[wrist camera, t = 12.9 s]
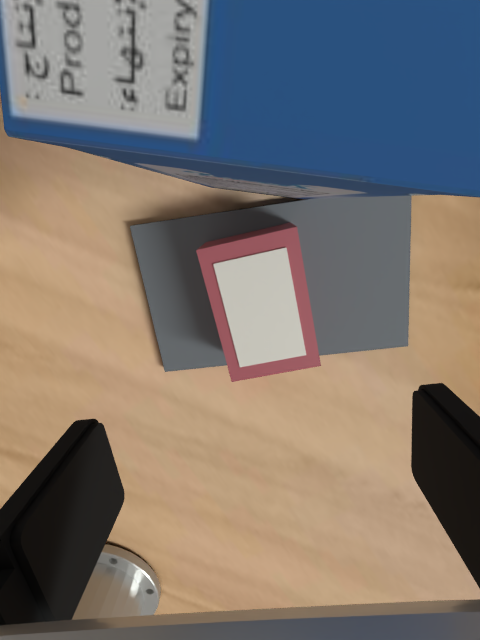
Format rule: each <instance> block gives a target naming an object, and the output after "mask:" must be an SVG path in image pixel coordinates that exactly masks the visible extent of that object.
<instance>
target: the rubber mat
mask: <svg viewBox="0 0 480 640" xmlns="http://www.w3.org/2000/svg"><path fill="white" fill-rule="evenodd" d="M290 222H291V223H292V224H294V225H295V226H297V230H298V235H299V241H300V247H301V253H302V259H303V265H304V270H305V276H306V282H307V288H308V294H309V299H310V305H311V311H312V317H313V323H314V329H315V334H316V340H317V346H318V352H319V355H328V354H338V353H347V352H357V351H366V350H376V349H385V348H395V347H404V346H408V325H409V281H410V236H411V195H409V196H378V197H347V198H315V199H307V200H300V201H293V202H287V203H280V204H273V205H266V206H260V207H253V208H246V209H240V210H233V211H226V212H219V213H213V214H206V215H199V216H193V217H186V218H179V219H172V220H166V221H159V222H152V223H146V224H139V225H132V226H130V229H131V233H132V237H133V241H134V245H135V249H136V254H137V258H138V262H139V266H140V270H141V274H142V279H143V283H144V287H145V291H146V295H147V299H148V303H149V308H150V312H151V316H152V320H153V324H154V328H155V333H156V337H157V341H158V345H159V349H160V353H161V357H162V362H163V366H164V370H165V372H167V371H177V370H186V369H196V368H205V367H215V366H224V365H227V362H226V359H225V355H224V351H223V348H222V344H221V340H220V337H219V333H218V329H217V326H216V322H215V318H214V314H213V311H212V307H211V303H210V300H209V296H208V292H207V289H206V285H205V281H204V278H203V274H202V270H201V266H200V263H199V259H198V255H197V252H196V250H197V249H198V248H199V247H201V246H202V245H203V244H204V243H206V242H209V241H214V240H218V239H222V238H226V237H231V236H235V235H239V234H243V233H248V232H252V231H256V230H260V229H265V228H269V227H273V226H277V225H282V224H286V223H290Z"/></svg>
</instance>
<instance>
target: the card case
mask: <svg viewBox="0 0 480 640" xmlns="http://www.w3.org/2000/svg"><path fill="white" fill-rule="evenodd" d="M196 252H197V255H198V259H199V263H200V266H201V270H202V274H203V278H204V281H205V285H206V289H207V292H208V296H209V300H210V303H211V307H212V311H213V314H214V318H215V322H216V326H217V329H218V333H219V337H220V340H221V344H222V348H223V351H224V355H225V359H226V362H227V366H228V370H229V374H230V377H231V381H232V382H234V381H239V380H245V379H250V378H256V377H262V376H267V375H273V374H278V373H284V372H289V371H295V370H300V369H306V368H311V367H317V366H321V364H320V358H319V352H318V346H317V340H316V334H315V329H314V323H313V317H312V311H311V305H310V299H309V294H308V288H307V282H306V276H305V270H304V265H303V259H302V253H301V247H300V241H299V235H298V230H297V226H295V225H294V224H292V223H291V222H290V223H286V224H282V225H277V226H273V227H269V228H265V229H260V230H256V231H252V232H248V233H243V234H239V235H235V236H231V237H226V238H222V239H218V240H214V241H209V242H206V243H204V244H203V245H202V246H201V247H199V248H198V249H197V250H196Z"/></svg>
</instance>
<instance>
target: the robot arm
mask: <svg viewBox="0 0 480 640" xmlns="http://www.w3.org/2000/svg"><path fill="white" fill-rule="evenodd" d="M411 467H412V473H413V476H414V479H415V481H416V482H417V484H418V486H419V487H420V489H421V491H422V492H423V494H424V496H425V497H426V499H427V501H428V502H429V504H430V506H431V507H432V509H433V511H434V513H435V514H436V516H437V518H438V519H439V521H440V523H441V524H442V526H443V528H444V529H445V531H446V533H447V534H448V536H449V538H450V539H451V541H452V543H453V544H454V546H455V548H456V549H457V551H458V553H459V554H460V556H461V558H462V559H463V561H464V563H465V564H466V566H467V568H468V570H469V571H470V573H471V575H472V576H473V578H474V580H475V581H476V583H477V585H478V586H479V588H480V417H479V416H478V415H477V414H476V413H475V412H474V411H473V410H472V409H471V408H469V407H468V406H467V405H466V404H465V403H464V402H463V401H462V400H461V399H460V398H459V397H457V396H456V395H455V394H454V393H453V392H452V391H451V390H450V389H449V388H448V387H447V386H445V385H444V384H443V383H437V384H428V385H421V386H419V389H418V391H414V392H413V403H412V460H411ZM123 502H124V489H123V486H122V483H121V479H120V476H119V473H118V470H117V467H116V463H115V460H114V457H113V454H112V450H111V447H110V444H109V441H108V438H107V434H106V431H105V428H104V425H103V424H102V423H99V422H98V421H97V420H96V419H87V420H78V421H75V422H74V423H73V424H72V425H71V426H70V427H69V428H68V430H67V431H66V432H65V433H64V434H63V436H62V437H61V438H60V439H59V440H58V441H57V443H56V444H55V445H54V446H53V447H52V449H51V450H50V451H49V452H48V453H47V455H46V456H45V457H44V458H43V459H42V460H41V462H40V463H39V464H38V465H37V466H36V468H35V469H34V470H33V471H32V472H31V473H30V475H29V476H28V477H27V478H26V479H25V481H24V482H23V483H22V484H21V485H20V486H19V488H18V489H17V490H16V491H15V492H14V494H13V495H12V496H11V497H10V498H9V500H8V501H7V502H6V503H5V504H4V505H3V507H2V508H1V509H0V640H480V600H444V601H417V602H396V603H375V604H353V605H332V606H311V607H291V608H272V609H253V610H234V611H216V612H197V613H179V614H161V615H153V614H154V613H155V611H156V609H157V607H158V603H159V599H160V595H161V587H160V583H159V580H158V578H157V576H156V574H155V572H154V571H153V570H152V569H151V567H150V566H149V565H148V564H147V563H146V562H144V561H143V560H142V559H141V558H139V557H138V556H136V555H135V554H133V553H131V552H129V551H127V550H125V549H122V548H119V547H116V546H112V545H108V544H105V543H106V541H107V539H108V537H109V534H110V532H111V530H112V528H113V525H114V523H115V521H116V519H117V516H118V514H119V512H120V510H121V507H122V505H123Z"/></svg>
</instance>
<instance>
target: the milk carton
mask: <svg viewBox="0 0 480 640" xmlns="http://www.w3.org/2000/svg"><path fill="white" fill-rule="evenodd" d="M0 90H1V100H2V110H3V120H4V129H5V132H6V133H7V135H8V136H9V137H14V138H20V139H25V140H31V141H36V142H41V143H47V144H52V145H57V146H63V147H68V148H71V149H75V150H79V151H82V152H86V153H89V154H93V155H97V156H100V157H104V158H107V159H111V160H115V161H118V162H122V163H125V164H129V165H133V166H136V167H140V168H143V169H147V170H151V171H154V172H158V173H161V174H165V175H169V176H172V177H176V178H179V179H183V180H187V181H190V182H194V183H197V184H201V185H205V186H208V187H212V188H220V189H228V190H236V191H244V192H251V193H259V194H267V195H275V196H283V197H290V198H298V199H315V198H347V197H378V196H409V195H454V196H468V197H480V0H0Z"/></svg>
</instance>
